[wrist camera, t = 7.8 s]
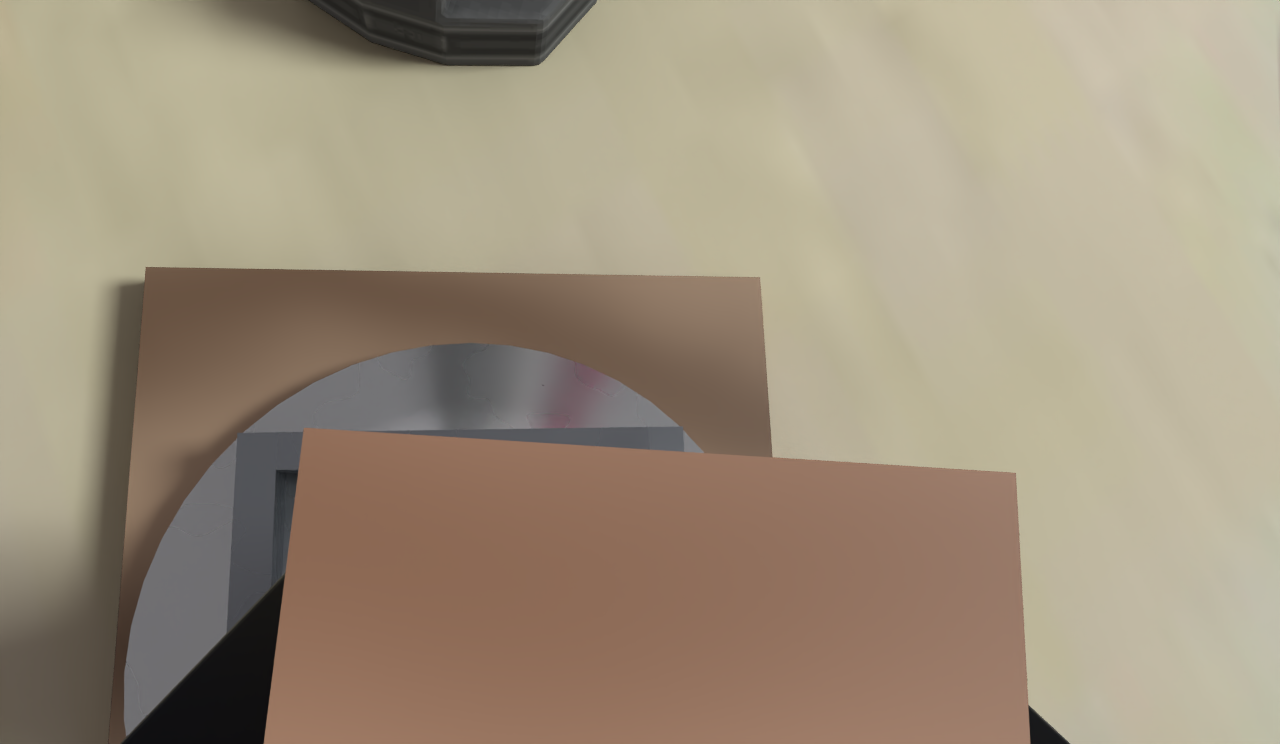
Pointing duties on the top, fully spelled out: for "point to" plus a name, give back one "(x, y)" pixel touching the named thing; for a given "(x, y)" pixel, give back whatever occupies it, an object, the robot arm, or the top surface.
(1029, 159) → the top surface
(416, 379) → the rosette plate
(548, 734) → the tan wooden block
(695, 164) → the top surface
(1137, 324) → the top surface
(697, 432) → the walnut board
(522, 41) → the zipper pull
